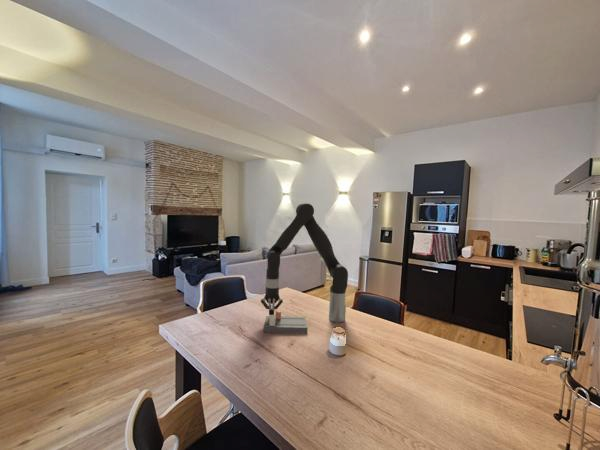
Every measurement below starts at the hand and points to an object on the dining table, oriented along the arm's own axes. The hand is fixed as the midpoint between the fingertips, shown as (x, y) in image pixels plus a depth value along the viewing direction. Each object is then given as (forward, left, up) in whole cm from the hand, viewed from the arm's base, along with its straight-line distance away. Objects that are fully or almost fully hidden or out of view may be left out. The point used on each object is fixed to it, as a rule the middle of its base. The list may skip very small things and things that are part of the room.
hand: (271, 315), depth 142 cm
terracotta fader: (-4, 0, -1) cm, 4 cm away
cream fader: (-1, +8, -1) cm, 8 cm away
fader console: (-8, +4, -4) cm, 10 cm away
